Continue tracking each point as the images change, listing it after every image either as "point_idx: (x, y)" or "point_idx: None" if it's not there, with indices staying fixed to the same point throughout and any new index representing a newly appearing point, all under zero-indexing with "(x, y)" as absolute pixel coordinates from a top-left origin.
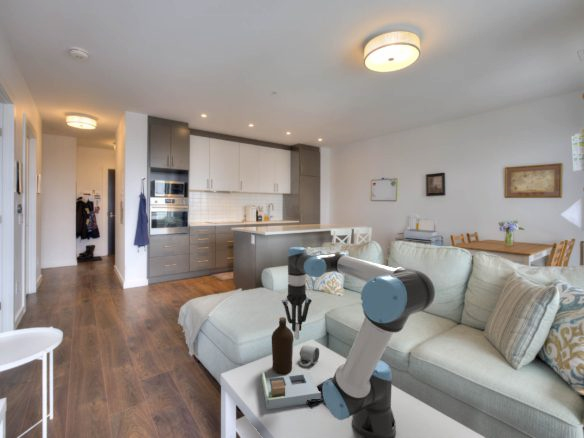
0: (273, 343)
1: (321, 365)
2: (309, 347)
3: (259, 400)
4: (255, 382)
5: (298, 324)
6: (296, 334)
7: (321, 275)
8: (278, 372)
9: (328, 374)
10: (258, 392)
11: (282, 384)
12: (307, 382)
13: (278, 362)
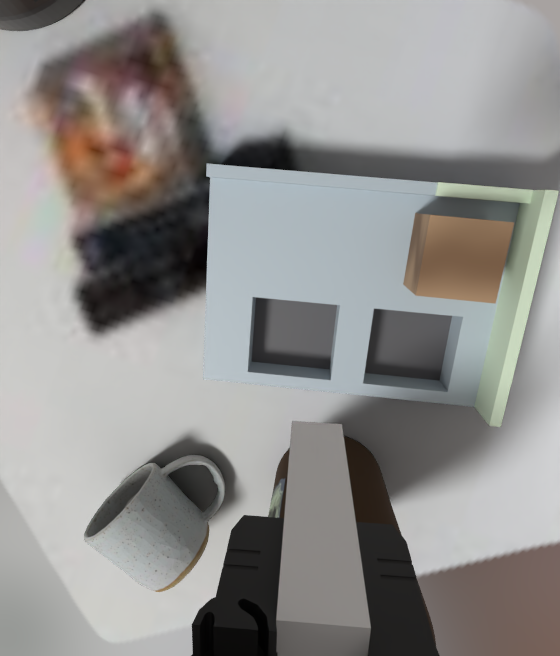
0: (425, 605)
1: (115, 443)
2: (138, 553)
3: None
4: None
5: (297, 618)
6: (336, 467)
7: None
8: (364, 449)
9: (103, 363)
10: None
11: (435, 250)
12: (246, 298)
13: (372, 483)
